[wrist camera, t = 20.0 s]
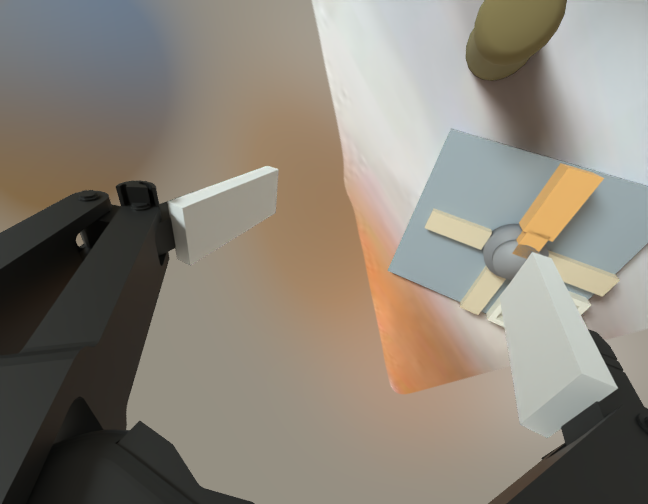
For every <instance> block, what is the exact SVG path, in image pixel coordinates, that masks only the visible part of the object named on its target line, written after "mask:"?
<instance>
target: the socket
mask: <svg viewBox="0 0 648 504" xmlns="http://www.w3.org/2000/svg"><path fill="white" fill-rule="evenodd" d="M506 288H507V287H506ZM504 291H505V290H504ZM504 291H503V292H504ZM503 292H502V293H503ZM569 293H570V295H571V297H572V299H573V301H574V303H575V305H576V307H577V309H578V311H579V313H580V315H582V314H583V313H584V312H585V311H586V310H587V309H588V308H589V307H590V306H591V304H590V302H589V301H588V299H587V298H586V297H583V296H581V295H578V294H576V293H573V292H571V291H569ZM501 295H502V294H501ZM501 295H500V296H501ZM500 296H499V297H498V299H497V300H496V301H495V303H494V304H493V305H492V306H491V308H490V309H489V310H488V311H487V313H486V315H487V320H488V321H491V322H493V323H495V324H498V325H500V326H502V327H504V321H503V315H502V308H501V302H500ZM504 328H505V327H504Z"/></svg>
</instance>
